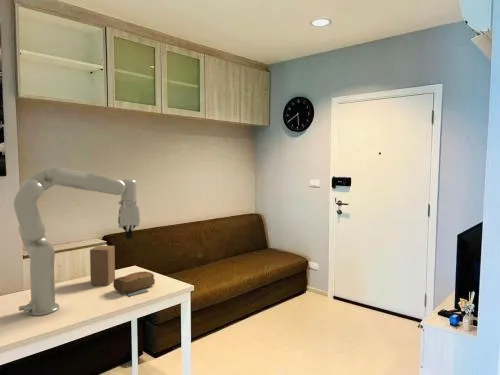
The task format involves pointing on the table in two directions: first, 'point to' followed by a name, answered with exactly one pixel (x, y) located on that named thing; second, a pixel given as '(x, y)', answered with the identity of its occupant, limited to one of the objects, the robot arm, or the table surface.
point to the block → (133, 282)
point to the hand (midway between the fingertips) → (128, 238)
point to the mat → (136, 292)
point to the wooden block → (102, 265)
